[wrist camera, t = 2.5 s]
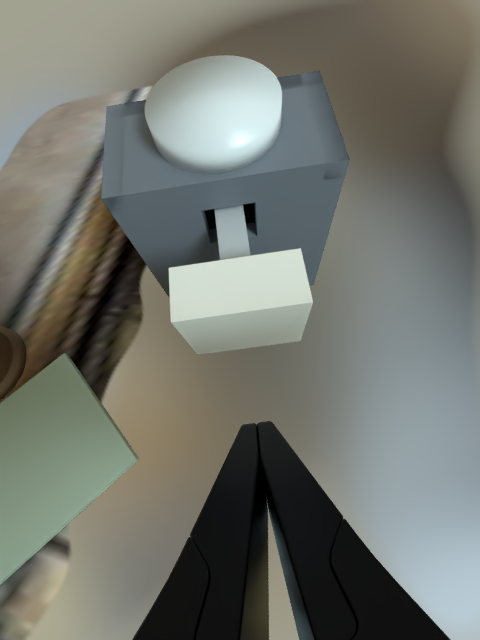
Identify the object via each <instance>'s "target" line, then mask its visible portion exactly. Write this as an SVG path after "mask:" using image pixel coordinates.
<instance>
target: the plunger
mask: <svg viewBox="0 0 480 640" xmlns="http://www.w3.org/2000/svg"><path fill="white" fill-rule="evenodd" d="M215 218H216V227H217V236H218V245H219V255H220V260H218V261H212V262H205V263H198V264H192V265H185V266H178V267H171V268H169V291H170V316H171V323H172V324H173V326H174V327H175V328H176V329H177V331H178V332H179V333H180V334H181V336H182V337H183V338H184V339H185V340H186V341H187V343H188V344H189V345H190V346H191V348H192V349H193V350H194V351H195V353H197V355H201V354H209V353H216V352H223V351H230V350H237V349H245V348H252V347H259V346H267V345H273V344H281V343H288V342H296V341H301V338H302V335H303V332H304V329H305V326H306V322H307V319H308V316H309V313H310V310H311V307H312V304H313V300H312V296H311V291H310V287H309V282H308V278H307V273H306V269H305V265H304V260H303V256H302V251H301V248H299V249H292V250H286V251H279V252H272V253H266V254H259V255H252V256H251V255H250V248H249V242H248V235H247V229H246V222H245V216H244V209H243V205H236V206H230V207H223V208H217V209H215Z"/></svg>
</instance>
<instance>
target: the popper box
mask: <svg viewBox="0 0 480 640" xmlns="http://www.w3.org/2000/svg"><path fill="white" fill-rule="evenodd" d="M349 160H350V159H349V156H348V153H347V150H346V147H345V144H344V141H343V138H342V135H341V132H340V129H339V127H338V123H337V120H336V117H335V114H334V111H333V108H332V105H331V102H330V100H329V97H328V93H327V91H326V88H325V85H324V82H323V79H322V76H321V73H320V71H314V72H308V73H302V74H296V75H291V76H285V77H279V78H277V77H276V76H275V75H274V74H273V73H272V71H270V70H269V69H268V68H267V67H265V66H263V65H262V64H260V63H258V62H256V61H253V60H251V59H248V58H243V57H238V56H226V55H225V56H224V55H221V56H211V57H204V58H200V59H196V60H193V61H190V62H188V63H185V64H182V65H180V66H178V67H176V68H174V69H173V70H171V71H170V72H168V73H167V74H166V75H164V76H163V77H162V78H161V79H160V80H159V81H158V82H157V83H156V84H155V85H154V86H153V88H152V89H151V91H150V92H149V94H148V97H147V99H146V100H143V101H137V102H131V103H125V104H119V105H113V106H107V111H106V127H105V143H104V159H103V175H102V191H101V199H102V201H103V202H104V204H105V205H106V207H107V208H108V210H109V211H110V212H111V214H112V215H113V217H114V218H115V220H116V221H117V223H118V224H119V225H120V227H121V228H122V230H123V231H124V233H125V234H126V236H127V237H128V238H129V240H130V241H131V243H132V244H133V246H134V247H135V249H136V250H137V252H138V253H139V254H140V256H141V257H142V259H143V260H144V262H145V263H146V265H147V266H148V267H149V269H150V270H151V272H152V273H153V274H154V276H155V278H156V279H157V280H158V282H159V283H160V285H161V286H162V288H163V289H164V291H165V292H166V293H167V295H168V296H169V298H170V291H169V268H171V267H178V266H185V265H192V264H198V263H205V262H212V261H218V260H220V255H219V245H218V236H217V227H216V218H215V209H217V208H223V207H230V206H236V205H243V209H244V216H245V222H246V229H247V235H248V242H249V248H250V255H251V256H252V255H259V254H266V253H272V252H279V251H286V250H292V249H299V248H301V251H302V256H303V260H304V265H305V269H306V273H307V278H308V282H309V286H310V285H314V281H315V278H316V275H317V271H318V268H319V264H320V261H321V257H322V254H323V251H324V247H325V244H326V240H327V237H328V233H329V230H330V226H331V223H332V219H333V216H334V212H335V209H336V205H337V202H338V198H339V195H340V192H341V188H342V184H343V181H344V178H345V174H346V171H347V167H348V164H349Z"/></svg>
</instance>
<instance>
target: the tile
mask: <svg viewBox="0 0 480 640" xmlns="http://www.w3.org/2000/svg"><path fill="white" fill-rule="evenodd" d="M138 460H139V458H138V456H137V455H136V453H135V452H134V450H133V449H132V448H131V446H130V445H129V443H128V442H127V440H126V439H125V437H124V436H123V435H122V433H121V432H120V430H119V429H118V427H117V426H116V424H115V423H114V421H113V420H112V418H111V417H110V415H109V414H108V412H107V411H106V409H105V408H104V406H103V405H102V404H101V402H100V401H99V399H98V398H97V396H96V395H95V393H94V392H93V390H92V389H91V387H90V386H89V384H88V383H87V381H86V380H85V379H84V377H83V376H82V374H81V373H80V371H79V370H78V368H77V367H76V365H75V364H74V362H73V361H72V359H71V358H70V357H69V355H68V354H66V353H64V354H62V355H61V356H60V357H58V358H57V359H56V360H55V361H53V362H52V363H51V364H49V365H48V366H47V367H46V368H44V369H43V370H42V371H41V372H39V373H38V374H37V375H35V376H34V377H33V378H32V379H30V380H29V381H28V382H26V383H25V384H24V385H23V386H21V387H20V388H19V389H18V390H16V391H15V392H14V393H12V394H11V395H10V396H9V397H7V398H6V399H5V400H3V401H2V402H1V403H0V585H1V584H2V583H3V582H4V581H5V580H7V579H8V578H9V577H10V576H11V575H12V574H13V573H14V572H15V571H16V570H18V569H19V568H20V567H21V566H22V565H23V564H24V563H25V562H26V561H28V560H29V559H30V558H31V557H32V556H33V555H34V554H35V553H36V552H38V551H39V550H40V549H41V548H42V547H43V546H44V545H45V544H46V543H47V542H49V541H50V540H51V539H52V538H53V537H54V536H55V535H56V534H57V533H59V532H60V531H61V530H62V529H63V528H64V527H65V526H66V525H67V524H68V523H70V522H71V521H72V520H73V519H74V518H75V517H76V516H77V515H78V514H80V513H81V512H82V511H83V510H84V509H85V508H86V507H87V506H88V505H90V504H91V503H92V502H93V501H94V500H95V499H96V498H97V497H98V496H99V495H101V494H102V493H103V492H104V491H105V490H106V489H107V488H108V487H109V486H111V485H112V484H113V483H114V482H115V481H116V480H117V479H118V478H119V477H120V476H121V475H123V474H124V473H125V472H126V471H127V470H128V469H129V468H131V467H132V466H133V465H134V464H135V463H136V462H137V461H138Z"/></svg>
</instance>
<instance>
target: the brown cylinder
mask: <svg viewBox="0 0 480 640" xmlns="http://www.w3.org/2000/svg"><path fill="white" fill-rule="evenodd" d="M25 362H26V349H25V345H24V342H23V340H22V339H21V337H20V336H19V335H18V334H17V333H16V332H14V331H12V330H10V329H8V328H5V327H3V326H0V399H1V398H3V397H4V396H5V395H6V394H7V393H8V392H9V391H10V390H11V389H12V388H13V387H14V386H15V384H16V383H17V381H18V380H19V378H20V376H21V374H22V372H23V369H24V366H25Z"/></svg>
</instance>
